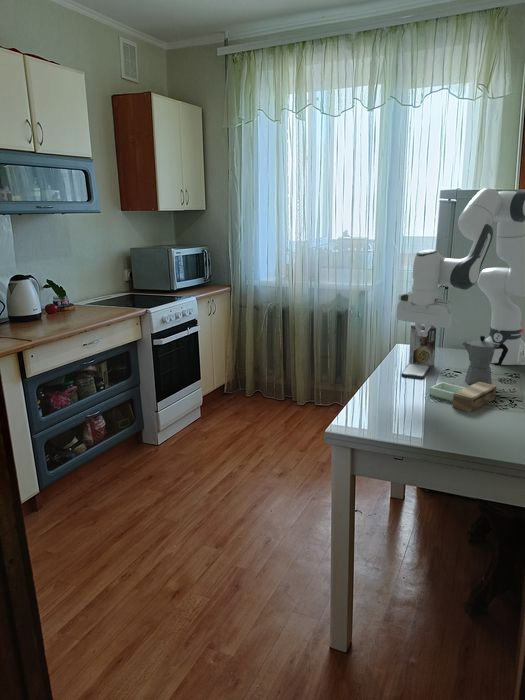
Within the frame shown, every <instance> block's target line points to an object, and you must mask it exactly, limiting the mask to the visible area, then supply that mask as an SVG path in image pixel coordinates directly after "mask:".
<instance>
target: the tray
mask: <svg viewBox="0 0 525 700" xmlns="http://www.w3.org/2000/svg"><path fill="white" fill-rule="evenodd" d="M464 388H465V387H463V386H459V385H457V384H456V385H455V384H452V383H449V382H448V383H447V382H443V381H442V382H438V383H436V384H434V385H432V386H430V387H429V392H428V395H429V396H430V395H431V396H430V397H434V396H436V397H435V398H437V397H439V398H438V399H441V398H442V399H441V400H444V399H446V400H445V401H448V400H449V401H448V402H451V401H452V403H453V396H454V393H456V392H458V391H460V390H462V389H464Z"/></svg>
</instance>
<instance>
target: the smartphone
mask: <svg viewBox="0 0 525 700" xmlns="http://www.w3.org/2000/svg"><path fill="white" fill-rule="evenodd" d="M430 367H431V366H424V365H415V364H410V363H408V364H407V366H406V367H405V368H404V370H403V371H402V372H401V374H400V375H401V377H403V378H407V377H408V379H417V380H424V379H425V378H426V376H427V374H428V372H429V371H430Z"/></svg>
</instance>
